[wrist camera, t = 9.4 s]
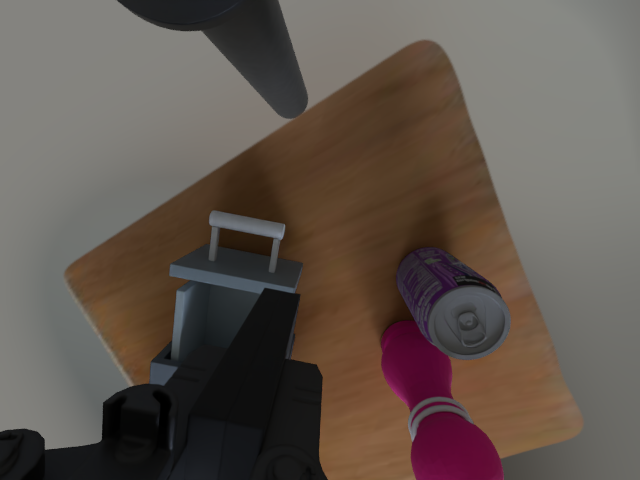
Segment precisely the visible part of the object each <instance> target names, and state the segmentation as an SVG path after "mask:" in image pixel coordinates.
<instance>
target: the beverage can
mask: <svg viewBox="0 0 640 480" xmlns="http://www.w3.org/2000/svg"><path fill="white" fill-rule="evenodd" d="M396 282H397V286H398V289H399V291H400V293H401V295H402V297H403V299H404V301H405V303H406V304H407V306H408V308H409V310H410V312H411V314H412V316H413V318H414V320H415V321H416V323H417V325H418V327H419V329H420V331H421V332H422V334H423V335H424V337H425V338H426V339H427V340H428V341H429V342H430V343H431V344H433V345H434V346H436V347H437V348H438V349H439V350H440V351H442V352H443V353H445V354H446V355H448V356H450V357H453V358H456V359H462V360H472V359H478V358H481V357H484V356H486V355H488V354H490V353H492V352H493V351H495V350H496V349H497V348H498V347H499V346H500V345H501V344H502V343H503V342H504V340H505V339H506V337H507V335H508V332H509V329H510V323H511V319H510V313H509V310H508V307H507V305H506V304H505V302H504V301H503V300H502V297H501V295H500V293H499V292H498V290H497V289H496V288H495V286H494V285H493V284H492V283H490V282H489V281H488V280H486V279H485V278H483V277H482V276H481V275H479V274H478V273H476V272H475V271H473V270H472V269H471V268H469V267H468V266H466V265H465V264H463V263H462V262H460V261H459V260H458V259H456V258H455V257H453V256H452V255H450V254H449V253H447V252H446V251H444V250H442V249H439V248H434V247H425V248H420V249H417V250H415V251H413V252H411V253H410V254H408V255H407V256H406V257H405V258H404V259H403V260H402V262H401V263H400V265H399V267H398V270H397V274H396Z"/></svg>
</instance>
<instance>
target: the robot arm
mask: <svg viewBox="0 0 640 480" xmlns="http://www.w3.org/2000/svg"><path fill="white" fill-rule="evenodd" d="M300 296H301V295H300V294H295V293H290V292H285V291H280V290H275V289H270V288H264V290H263V291H262V293H261V294H260V296H259V298H258V299H257V301H256V303H255V304H254V306H253V308H252V309H251V311H250V313H249V314H248V316H247V318H246V319H245V321H244V323H243V324H242V326H241V328H240V329H239V331H238V333H237V334H236V336H235V338H234V339H233V341H232V343H231V344H230V346H229V348H222V347H217V346H212V345H207V344H204V345H202V346H200V347H199V348H197V349H195V350H194V351H192V352H190V353H189V355H188V356H187V357H186V358H185V360H184V361H183V362H182V363H181V366H180V367H178V368H177V370H176V371H175V372H174V373H173V375H172V377H170V378H169V380H168V381H167V382H166V383H165V385H164V386H163V385H160V384H142V385H137V386H132V387H129V388H127V389H124V390H122V391H120V392H117V393H115V394H114V395H113V396H111V397H110V398H109V399H108V400H106V401H105V402H103V424H102V440H101V441H100V442H99V443H96V444H91V445H85V446H78V447H68V448H59V449H49V450H45V440H44V438H43V437H42V436H41V435H40V434H39V433H38V432H36V431H32V430H28V429H15V430H5V431H2V432H0V480H328V479H327V477H326V476H325V474H324V472H323V470H322V467H321V464H320V461H319V438H320V418H321V399H322V379H323V377H322V375H321V373H320V371H319V369H318V367H317V365H316V364H311V363H306V362H300V361H295V360H290V359H288V358H289V354H290V349H291V343H292V338H293V333H294V327H295V322H296V317H297V311H298V306H299V301H300Z"/></svg>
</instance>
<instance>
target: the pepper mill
mask: <svg viewBox="0 0 640 480" xmlns="http://www.w3.org/2000/svg"><path fill="white" fill-rule="evenodd" d="M381 348H382V352H383V354H382V364H381V365H382V371H383V373H384V376H385V379H386V381H387V383H388V385H389V386H390V387H391V389H392V390H393V391H394V393H395V394H396V395H397V396H398V397H399V398H400V399H401V400H403V401H404V402H405V403H406V404H407V406H408V407H409V409H410V412H411V413H410V416H409V419H408V428H409V431H410V433H411V438H412V448H411V462H412V467H413V471H414V474H415V477H416V479H417V480H504V474H503V468H502V464H501V460H500V458H499V455H498V453H497V451H496V449H495V447H494V445H493V443H492V442H491V440H490V439H489V438H488V436H487V435H486V434H485V433H484V432H483V431H482V430H481V429H479V428H478V427H477V426H476V425H474V423H473V421H472V419H471V418H470V416H469V414H468V412H467V410H466V409H465V408H464V407H463V405H461V404H460V403H459V402H457V401H455V400H454V399H453V397H452V395H451V382H452V368H451V362H450V359H449V357H448V355H446V354H445V353H443V352H442V351H440V350H439V349H438V348H437V347H436V346H434V345H433V344H431V343H430V342H429V341H428V340H427V339H426V338H425V337H424V335H423V334H422V332H421V331H420V329H419V327H418V325H417V323H416V322H415V321H409V320H405V321H400V322H397V323H395V324H393V325H391V326H390V327H389V328H388V329H387V330H386V331H385V332H384V334H383V337H382V340H381Z"/></svg>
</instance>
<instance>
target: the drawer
mask: <svg viewBox="0 0 640 480" xmlns="http://www.w3.org/2000/svg"><path fill="white" fill-rule="evenodd" d="M209 224H210V225H211V226H212V232H211V242H210V245H209V244H205V245H204V246H202V247H200V248H198V249H196V250H195V251H193V252H191V253H189V254H187V255H185V256H184V257H182V258H180V259H178V260H176V261H174V262H173V263H171V264H170V273H169V276H173V277H178V278H183V279H188V280H190V281H189V282H187V283H186V284H184V285H183V286H182V287H180V288H179V289H178V290H177V293H176V305H175V316H174V327H173V339H172V350H171V360H174V361H179V362H183V361H184V360H185V358H186V357H187V356H188V355H189V353H190V352H192V351H194V350H195V349H197V348H199V347H200V346H202V345H204V344H207V345H212V346H217V347H222V348H229V346H230V344H231V343H232V341H233V339H234V338H235V336H236V334H237V333H238V331H239V329H240V328H241V326H242V324H243V323H244V321H245V319H246V318H247V316H248V314H249V313H250V311H251V309H252V308H253V306H254V304H255V303H256V301H257V299H258V298H259V296H260V294H261V293H262V291H263V290H264V288H270V289H275V290H280V291H285V292H290V293H295V291H296V288H297V285H298V282H299V279H300V276H301V272H302V267H303V263H301V262H296V261H291V260H286V259H280V258H278V252H279V246H280V240H281V239H282V238H283V236H284V232H285V224H282V223H277V222H272V221H266V220H261V219H256V218H251V217H246V216H241V215H236V214H230V213H225V212H220V211H215V210H213V211H212V212H211V214H210V217H209ZM220 227H221V228H226V229H231V230H236V231H241V232H246V233H251V234H257V235H262V236H267V237H272V238H274V240H273V246H272V252H271V257H270V256H265V255H260V254H255V253H250V252H245V251H239V250H234V249H229V248H224V247H219V246H218V241H219V233H220Z"/></svg>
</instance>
